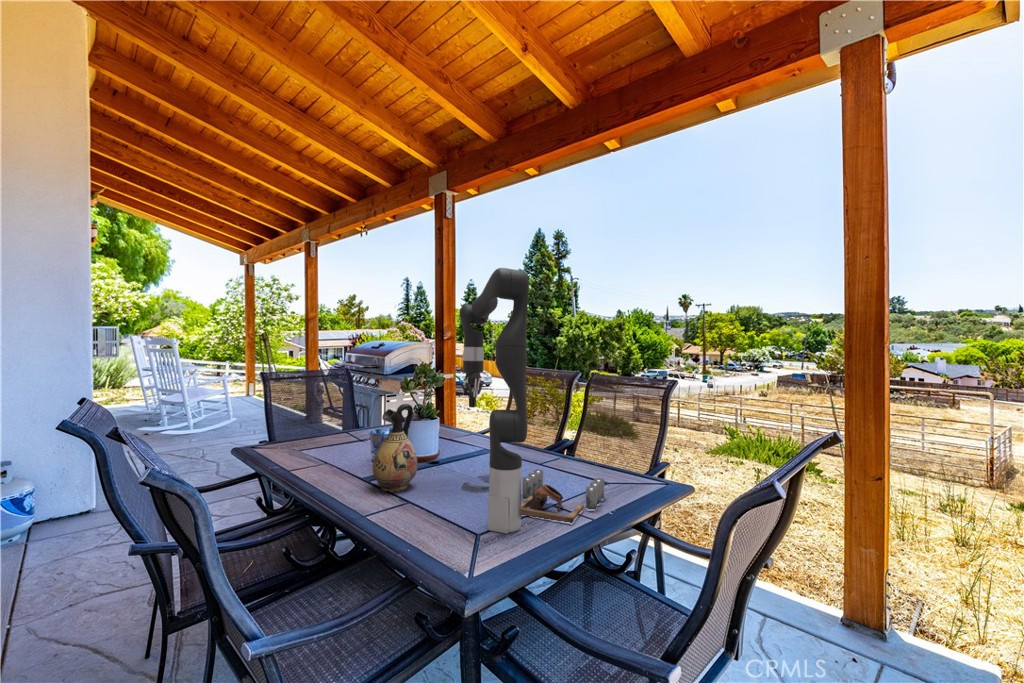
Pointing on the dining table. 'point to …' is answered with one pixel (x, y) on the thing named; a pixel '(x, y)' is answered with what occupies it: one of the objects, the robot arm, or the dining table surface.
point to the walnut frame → (549, 515)
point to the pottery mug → (545, 497)
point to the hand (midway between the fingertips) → (472, 407)
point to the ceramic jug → (396, 453)
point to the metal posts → (536, 481)
